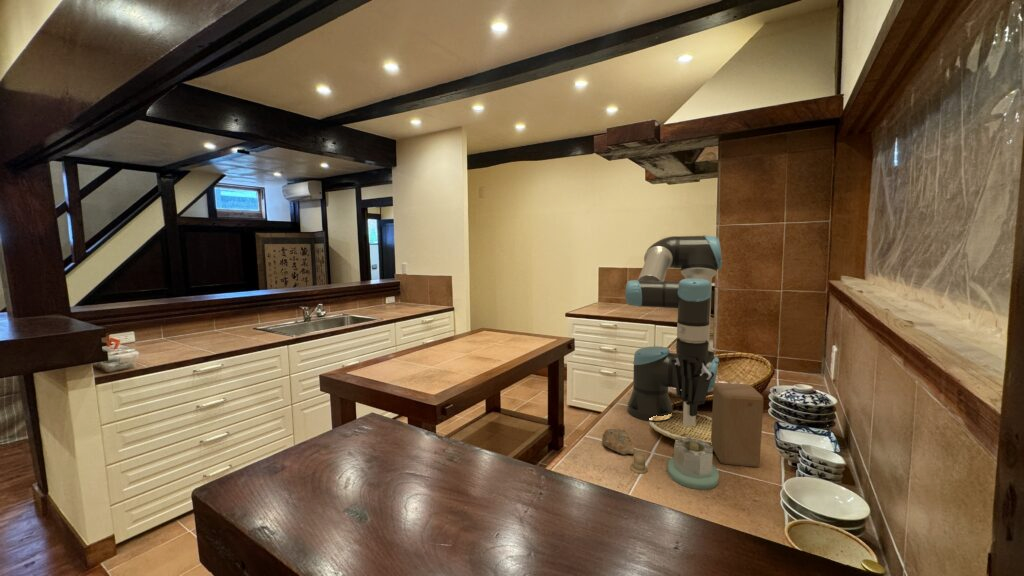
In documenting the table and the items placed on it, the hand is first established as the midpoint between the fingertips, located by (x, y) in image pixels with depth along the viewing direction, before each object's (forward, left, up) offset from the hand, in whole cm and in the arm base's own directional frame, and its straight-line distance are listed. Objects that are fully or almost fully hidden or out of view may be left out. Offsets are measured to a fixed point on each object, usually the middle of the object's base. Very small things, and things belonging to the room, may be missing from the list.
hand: (689, 425), depth 105 cm
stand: (+6, -12, -12) cm, 18 cm away
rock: (-4, -19, -12) cm, 23 cm away
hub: (+4, +1, -12) cm, 12 cm away
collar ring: (+4, +1, -10) cm, 11 cm away
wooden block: (-10, +12, -12) cm, 20 cm away
